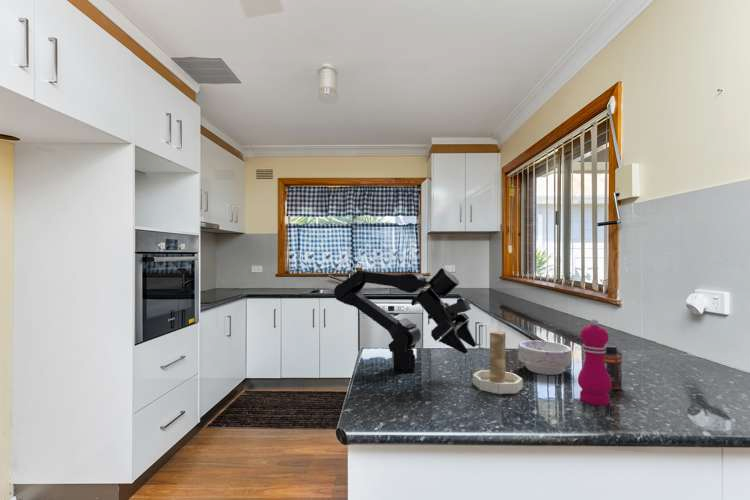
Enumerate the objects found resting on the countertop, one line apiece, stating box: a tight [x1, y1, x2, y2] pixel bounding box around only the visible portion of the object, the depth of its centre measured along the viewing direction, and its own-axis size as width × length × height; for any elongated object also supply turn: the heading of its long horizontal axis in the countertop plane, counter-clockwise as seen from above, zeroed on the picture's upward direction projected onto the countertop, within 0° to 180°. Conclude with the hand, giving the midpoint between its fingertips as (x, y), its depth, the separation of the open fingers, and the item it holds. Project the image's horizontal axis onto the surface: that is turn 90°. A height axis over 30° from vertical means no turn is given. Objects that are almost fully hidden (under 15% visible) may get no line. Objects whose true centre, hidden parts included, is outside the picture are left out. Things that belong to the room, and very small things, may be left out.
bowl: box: [472, 369, 524, 395], centre depth 103 cm, size 12×12×2 cm
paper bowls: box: [517, 339, 573, 376], centre depth 118 cm, size 15×15×8 cm
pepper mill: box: [577, 318, 612, 407], centre depth 93 cm, size 7×7×20 cm
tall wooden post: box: [489, 330, 506, 383], centre depth 104 cm, size 3×3×14 cm
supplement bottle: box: [604, 343, 623, 391], centre depth 103 cm, size 6×6×11 cm
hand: (470, 349), depth 107 cm, fingers open, 9 cm apart
